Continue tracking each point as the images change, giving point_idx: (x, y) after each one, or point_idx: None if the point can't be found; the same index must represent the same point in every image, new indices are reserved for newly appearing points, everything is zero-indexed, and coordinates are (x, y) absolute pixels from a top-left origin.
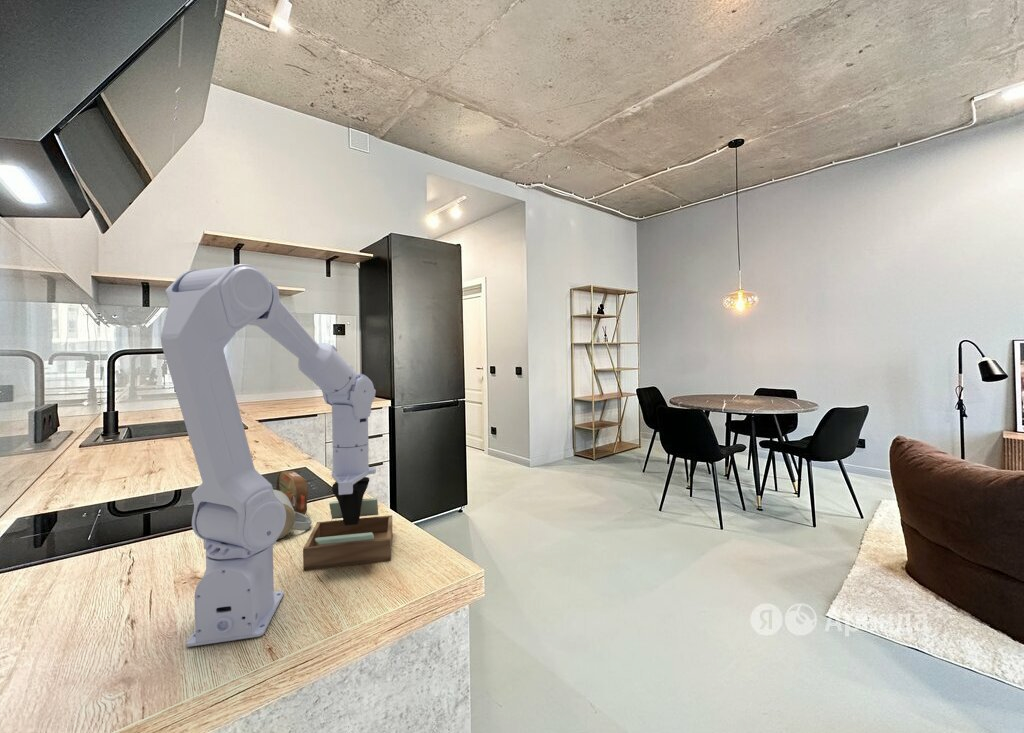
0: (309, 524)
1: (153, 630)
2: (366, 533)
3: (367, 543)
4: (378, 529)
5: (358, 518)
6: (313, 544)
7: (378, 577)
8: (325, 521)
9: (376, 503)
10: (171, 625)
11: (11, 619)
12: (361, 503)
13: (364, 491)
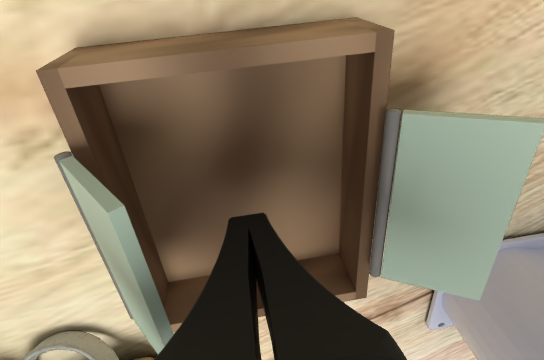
0: (73, 342)
1: (463, 352)
2: (535, 147)
3: (380, 129)
4: (103, 119)
5: (270, 225)
6: None
7: (462, 45)
8: None
9: (108, 194)
10: (461, 343)
11: None
12: (268, 270)
13: (381, 327)
